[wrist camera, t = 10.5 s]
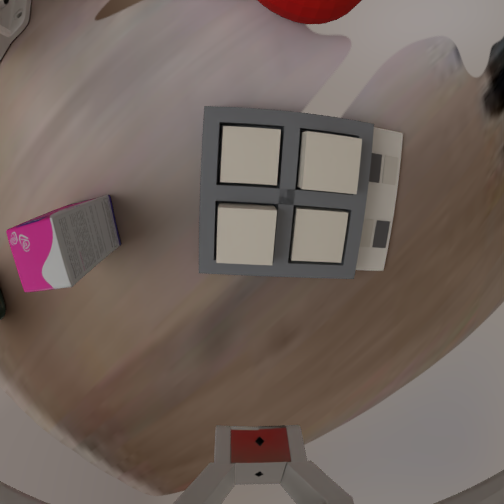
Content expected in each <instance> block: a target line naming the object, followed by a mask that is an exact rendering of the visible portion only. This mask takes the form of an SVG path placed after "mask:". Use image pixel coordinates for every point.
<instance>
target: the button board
mask: <svg viewBox="0 0 504 504" xmlns="http://www.w3.org/2000/svg"><path fill="white" fill-rule="evenodd" d="M223 126H235V127H253V128H267V129H279V130H281V136H280V150H279V163H278V177H277V185H265V184H249V183H229V182H220V175H221V156H222V138H223ZM305 131H310V132H318V133H326V134H333V135H340V136H347V137H353V138H360V139H362V147H361V158H360V168H359V178H358V187H357V194H348V193H338V192H328V191H317V190H306V189H301V188H300V187H298V186H297V182H298V170H299V158H300V145H301V132H305ZM402 140H403V133H400V132H396V131H391V130H386V129H381V128H376V127H374V124H371V123H366V122H361V121H355V120H349V119H343V118H337V117H330V116H323V115H316V114H308V113H300V112H291V111H281V110H269V109H256V108H239V107H213V106H204V121H203V139H202V158H201V183H200V216H199V273H208V274H229V275H251V276H276V277H304V278H338V279H354V275H355V270H371V271H383V270H384V265H385V260H386V255H387V250H388V245H389V240H390V234H391V228H392V222H393V216H394V209H395V203H396V196H397V188H398V180H399V172H400V162H401V152H402ZM219 203H241V204H259V205H274V206H275V208H276V210H277V217H276V229H275V240H274V251H273V262H272V265H251V264H229V263H216V255H217V223H218V206H219ZM294 205H300V206H314V207H326V208H338V209H343V210H345V211H346V212H348V220H347V227H346V234H345V241H344V247H343V254H342V260H341V263H337V262H313V261H292V260H291V258H290V256H289V248H290V239H291V229H292V219H293V208H294Z"/></svg>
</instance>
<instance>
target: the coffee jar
mask: <svg viewBox="0 0 504 504" xmlns="http://www.w3.org/2000/svg"><path fill="white" fill-rule="evenodd" d="M5 310H6V309H5V303H4V300H3V296H2V293H1V290H0V320H1V319H2V318H3V317H4V315H5Z"/></svg>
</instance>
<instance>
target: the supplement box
mask: <svg viewBox="0 0 504 504" xmlns="http://www.w3.org/2000/svg"><path fill="white" fill-rule="evenodd" d="M7 236H8V240H9V244H10V247H11V250H12V254H13V257H14V260H15V264H16V267H17V270H18V274H19V277H20V280H21V283H22V286H23V289H24V292H36V291H44V290H52V289H59V288H67V287H73V286H74V285H75V284H76V283H77V282H78V281H79V280H80V279H81V278H82V277H84V276H85V275H86V274H87V273H88V272H89V271H91V270H92V269H93V268H94V267H95V266H96V265H97V264H98V263H100V262H101V261H102V260H103V259H104V258H105V257H107V256H108V255H109V254H110V253H111V252H113V251H114V250H115V249H116V248H118V247H119V246H120V245H121V241H120V237H119V233H118V229H117V225H116V220H115V216H114V211H113V206H112V201H111V197H110V195H106V196H102V197H99V198H95V199H91V200H87V201H83V202H79V203H75V204H70V205H67V206H64V207H61V208H59V209H56V210H54V211H51V212H48V213H46V214H43V215H41V216H38V217H36V218H34V219H31V220H29V221H26V222H24V223H22V224H19V225H17V226H15V227H12V228H10V229H8V230H7Z"/></svg>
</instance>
